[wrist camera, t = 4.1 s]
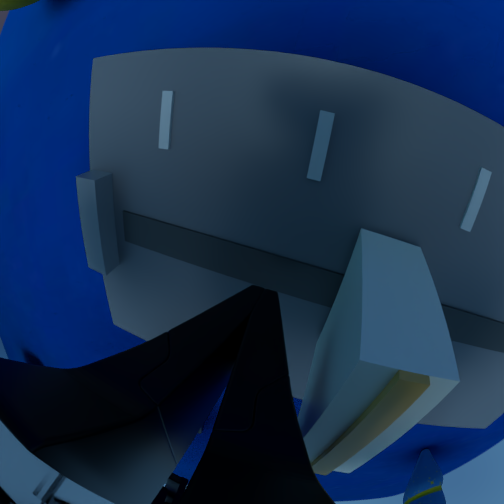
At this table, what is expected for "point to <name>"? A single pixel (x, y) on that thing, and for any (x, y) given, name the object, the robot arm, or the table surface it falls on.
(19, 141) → the table surface
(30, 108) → the table surface
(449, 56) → the table surface
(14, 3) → the lemon
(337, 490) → the table surface
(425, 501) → the ornament
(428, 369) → the fader tab
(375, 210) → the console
